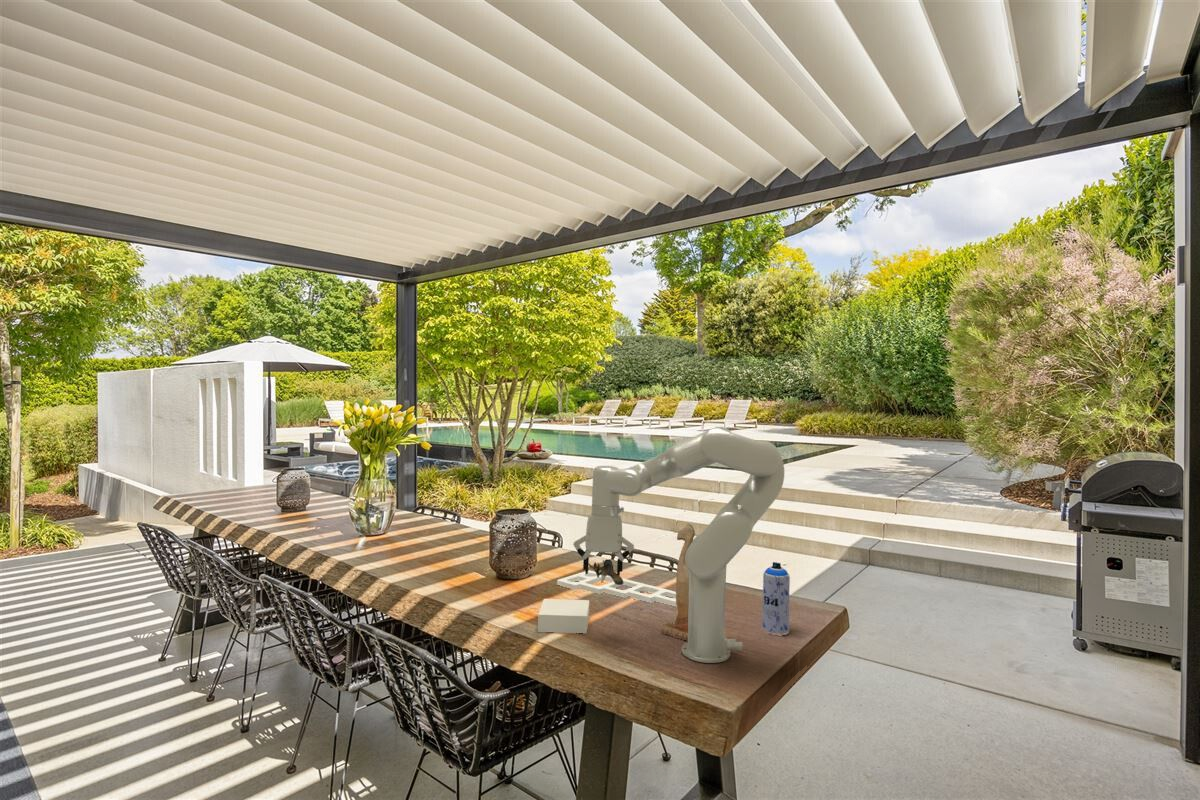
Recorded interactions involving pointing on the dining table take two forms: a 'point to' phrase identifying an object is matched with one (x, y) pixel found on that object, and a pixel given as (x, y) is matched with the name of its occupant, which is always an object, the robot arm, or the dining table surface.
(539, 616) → the stand
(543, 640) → the dining table surface
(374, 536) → the dining table surface
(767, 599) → the aerosol can
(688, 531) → the bird sculpture
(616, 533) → the robot arm
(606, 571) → the eagle figurine
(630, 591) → the holder
